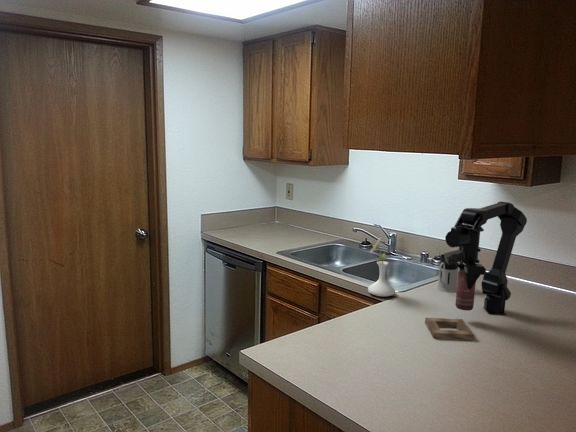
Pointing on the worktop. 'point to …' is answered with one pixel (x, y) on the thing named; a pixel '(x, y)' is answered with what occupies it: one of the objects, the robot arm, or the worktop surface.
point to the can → (464, 293)
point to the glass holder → (447, 276)
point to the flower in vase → (381, 277)
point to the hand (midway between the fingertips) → (466, 286)
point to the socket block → (461, 334)
